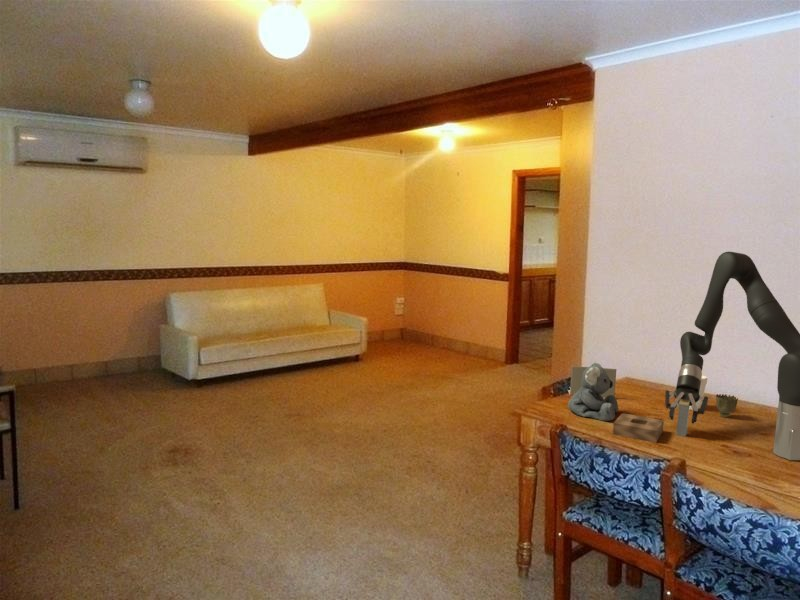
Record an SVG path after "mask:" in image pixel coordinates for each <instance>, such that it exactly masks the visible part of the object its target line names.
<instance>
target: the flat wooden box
mask: <svg viewBox="0 0 800 600" xmlns="http://www.w3.org/2000/svg"><path fill="white" fill-rule="evenodd" d="M664 423H665V420H663V419H658V418H652V417H646V416H640V415H634V414H629V413H624V412H622V413H621V414H620V415H619V416H618V417H617V418H616V420H615V421H613V427H612V435H615V436H620V437H625V438H626V437H627V438H631V439H636V440H641V441H645V442H651V443H657V442H658V441H659V439H660V437H661V435H662V434H663V431H664Z"/></svg>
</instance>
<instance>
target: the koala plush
mask: <svg viewBox="0 0 800 600" xmlns="http://www.w3.org/2000/svg"><path fill="white" fill-rule="evenodd" d="M587 367H588V368H587V369H586V370H585V371H584V372H583V374H582V381H581V383H582V386H581V388H580V390H579V391H577V393H575V394H574V395H573V396H571V397H570V399H569V400H568V402H567V403H568V404H567V406H568V409H569V410H570V412H573V414H574V413H575V414H576V415H577V416H580V417H583V418H586V417H588V418H592V419H593V420H597V421H603V422H604V421H605V422H611V421H614V419H615V417H616V414H617V413H618V412H619V404H618V401H617V397H616V395H608V396H606V397H605V398H603V397H602V396H601V394H603V393H605V392H606V391H607V390H608V389H609V388H612V386H613V382H612V381H611V380H610V379H609V377H608V375H607V373H606V372H605V370H604V369H603V368H604V367H603V366H601V363H600V362H596V361H594V362H592V363H591V365H590V366H587Z"/></svg>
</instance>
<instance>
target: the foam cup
mask: <svg viewBox="0 0 800 600" xmlns="http://www.w3.org/2000/svg"><path fill="white" fill-rule="evenodd" d="M701 380H702V381H701V385H700V391H699V395H700V396H701V397H704V393H705V389H706V385H707V383H708V377H707V376H706V375H704V374H702V379H701ZM701 405H702V403H701V400H699V401H697V402H696V406H697V408H698V409H700V408H701ZM689 410H692V407H691V406H689Z"/></svg>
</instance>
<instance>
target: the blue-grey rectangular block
mask: <svg viewBox="0 0 800 600" xmlns="http://www.w3.org/2000/svg"><path fill="white" fill-rule="evenodd" d="M689 405H690V401H689V400H683V399H680V401H679V406H678V414H677V423H676V424H677V425H676V433H675V434H676V435H675V436H680V437H687V434H688V427H689V426H688V424H689V414H690V409H689Z"/></svg>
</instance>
